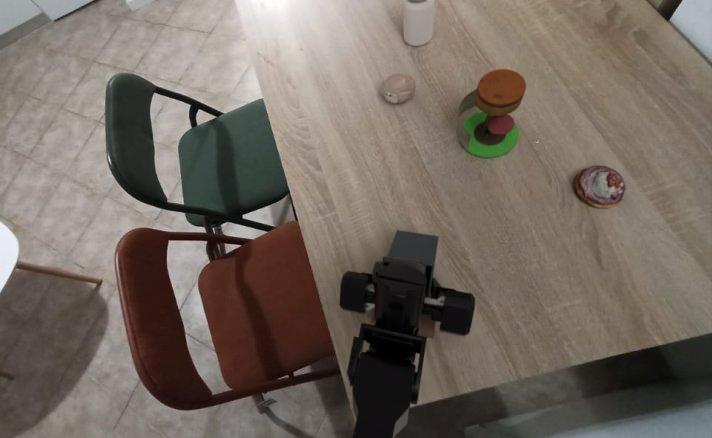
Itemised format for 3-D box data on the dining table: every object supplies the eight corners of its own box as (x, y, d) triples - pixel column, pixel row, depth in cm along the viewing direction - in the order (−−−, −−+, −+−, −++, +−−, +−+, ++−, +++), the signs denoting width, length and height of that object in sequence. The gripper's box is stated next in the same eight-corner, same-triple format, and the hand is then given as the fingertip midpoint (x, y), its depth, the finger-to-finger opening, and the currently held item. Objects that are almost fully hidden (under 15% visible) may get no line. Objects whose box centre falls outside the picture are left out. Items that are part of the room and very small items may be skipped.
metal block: (432, 338, 75) (433, 334, 72) (374, 325, 79) (372, 321, 75) (437, 304, 77) (438, 299, 74) (380, 293, 81) (378, 287, 77)
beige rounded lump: (392, 114, 95) (391, 90, 88) (377, 95, 98) (374, 70, 91) (420, 98, 94) (420, 73, 87) (403, 80, 97) (403, 54, 90)
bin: (425, 323, 76) (428, 305, 64) (384, 314, 79) (379, 296, 67) (436, 248, 81) (441, 218, 69) (397, 242, 84) (395, 212, 71)
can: (400, 46, 101) (399, 3, 91) (407, 24, 103) (407, -20, 93) (429, 48, 99) (431, 5, 88) (436, 26, 101) (439, -19, 90)
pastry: (621, 212, 74) (635, 200, 70) (570, 205, 77) (579, 192, 73) (624, 171, 77) (637, 157, 72) (574, 166, 80) (583, 151, 75)
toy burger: (518, 104, 87) (537, 50, 74) (523, 159, 83) (544, 112, 70) (454, 108, 91) (461, 57, 78) (455, 161, 87) (463, 116, 73)
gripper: (483, 294, 52) (480, 240, 66) (331, 266, 59) (356, 222, 72) (468, 367, 57) (468, 303, 70) (328, 333, 64) (352, 281, 77)
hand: (409, 275), depth 72 cm, fingers closed on bin, 7 cm apart
